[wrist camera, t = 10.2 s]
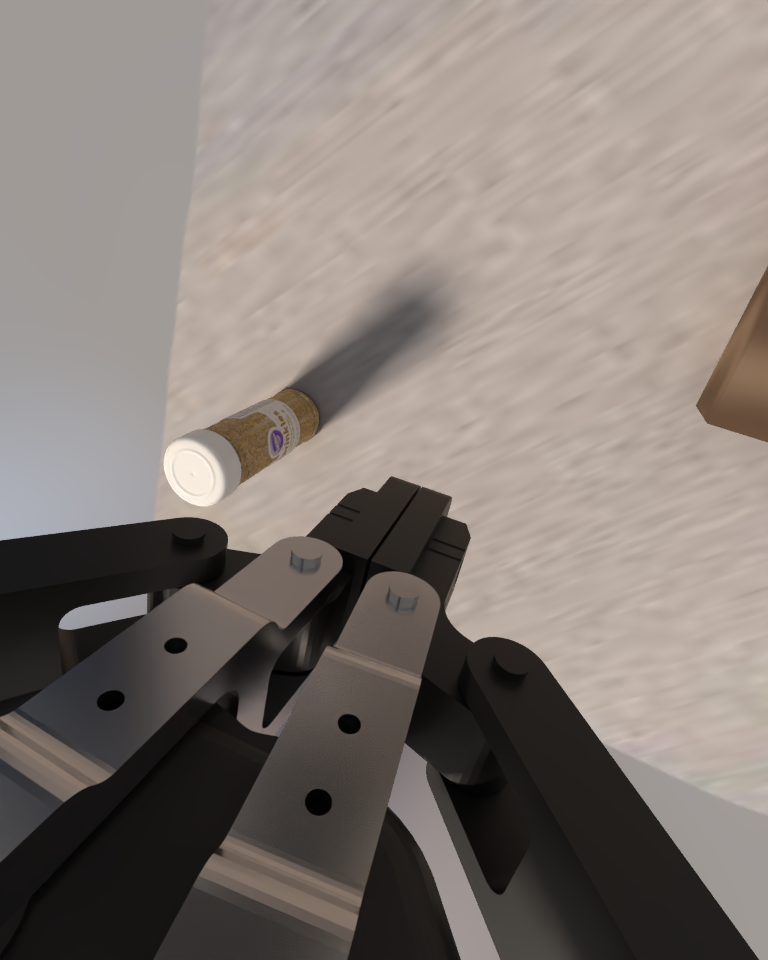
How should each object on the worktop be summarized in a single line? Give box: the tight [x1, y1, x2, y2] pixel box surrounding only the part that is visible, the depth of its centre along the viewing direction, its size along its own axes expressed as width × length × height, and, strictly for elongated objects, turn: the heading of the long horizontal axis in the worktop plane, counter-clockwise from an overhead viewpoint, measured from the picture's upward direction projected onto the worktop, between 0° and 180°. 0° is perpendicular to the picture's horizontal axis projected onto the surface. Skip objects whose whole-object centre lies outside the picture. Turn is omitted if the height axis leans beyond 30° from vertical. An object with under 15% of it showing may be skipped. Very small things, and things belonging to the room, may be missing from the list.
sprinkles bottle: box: [164, 389, 319, 506], centre depth 39 cm, size 5×5×13 cm
